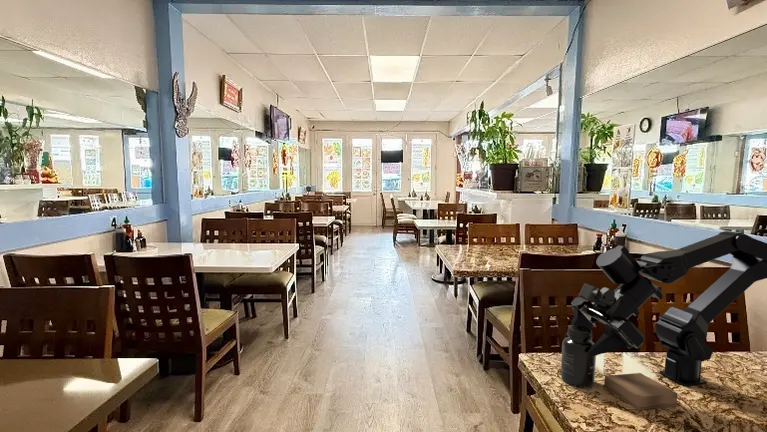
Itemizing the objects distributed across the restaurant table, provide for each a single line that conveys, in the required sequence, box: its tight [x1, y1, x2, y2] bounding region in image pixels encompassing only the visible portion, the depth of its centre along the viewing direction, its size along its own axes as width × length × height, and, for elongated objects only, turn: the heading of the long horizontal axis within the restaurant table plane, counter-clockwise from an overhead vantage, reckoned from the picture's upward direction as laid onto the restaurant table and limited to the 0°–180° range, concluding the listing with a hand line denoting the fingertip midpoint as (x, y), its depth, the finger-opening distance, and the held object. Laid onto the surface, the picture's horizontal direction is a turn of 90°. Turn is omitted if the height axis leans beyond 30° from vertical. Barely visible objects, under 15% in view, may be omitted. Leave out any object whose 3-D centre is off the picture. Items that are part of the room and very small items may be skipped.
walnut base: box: [602, 372, 679, 411], centre depth 83 cm, size 9×9×2 cm
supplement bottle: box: [560, 325, 597, 388], centre depth 89 cm, size 7×7×12 cm
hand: (577, 346), depth 89 cm, fingers open, 9 cm apart
